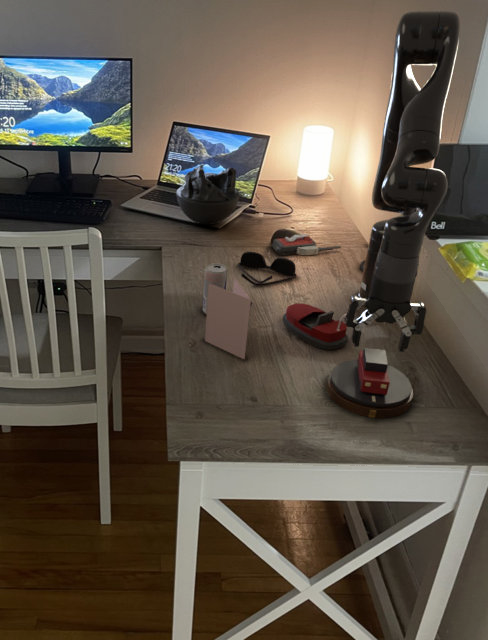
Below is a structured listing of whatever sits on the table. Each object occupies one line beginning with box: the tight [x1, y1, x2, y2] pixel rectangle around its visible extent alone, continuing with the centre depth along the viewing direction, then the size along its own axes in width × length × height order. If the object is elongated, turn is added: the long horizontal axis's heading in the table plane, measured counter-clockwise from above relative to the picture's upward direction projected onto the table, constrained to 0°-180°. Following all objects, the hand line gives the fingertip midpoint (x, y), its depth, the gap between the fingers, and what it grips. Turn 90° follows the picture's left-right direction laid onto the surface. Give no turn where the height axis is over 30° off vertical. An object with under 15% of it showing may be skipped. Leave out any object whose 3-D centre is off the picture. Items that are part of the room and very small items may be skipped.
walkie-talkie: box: [272, 233, 342, 256], centre depth 203 cm, size 9×4×20 cm
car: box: [331, 347, 413, 407], centre depth 138 cm, size 16×16×6 cm
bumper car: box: [282, 302, 356, 351], centre depth 159 cm, size 10×20×10 cm, turn 32°
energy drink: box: [202, 263, 228, 315], centre depth 167 cm, size 5×5×12 cm
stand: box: [326, 370, 414, 419], centre depth 141 cm, size 17×17×2 cm
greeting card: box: [204, 276, 253, 360], centre depth 152 cm, size 11×7×15 cm, turn 12°
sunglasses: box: [237, 251, 298, 287], centre depth 185 cm, size 17×14×5 cm
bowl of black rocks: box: [176, 164, 240, 225], centre depth 217 cm, size 20×20×19 cm
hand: (378, 347), depth 135 cm, fingers open, 8 cm apart
